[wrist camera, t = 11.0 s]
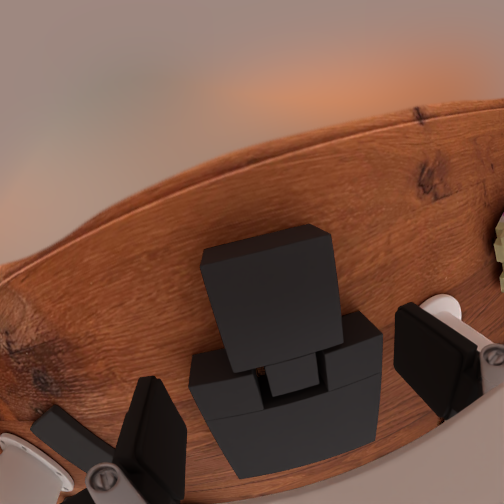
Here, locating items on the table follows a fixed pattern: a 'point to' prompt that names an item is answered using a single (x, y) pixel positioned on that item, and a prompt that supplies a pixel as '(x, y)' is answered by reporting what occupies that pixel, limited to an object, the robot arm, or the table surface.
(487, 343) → the white long flanged cylinder
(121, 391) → the table surface
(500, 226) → the toy
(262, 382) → the black box
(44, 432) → the phone
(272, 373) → the pad
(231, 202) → the table surface
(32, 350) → the table surface
